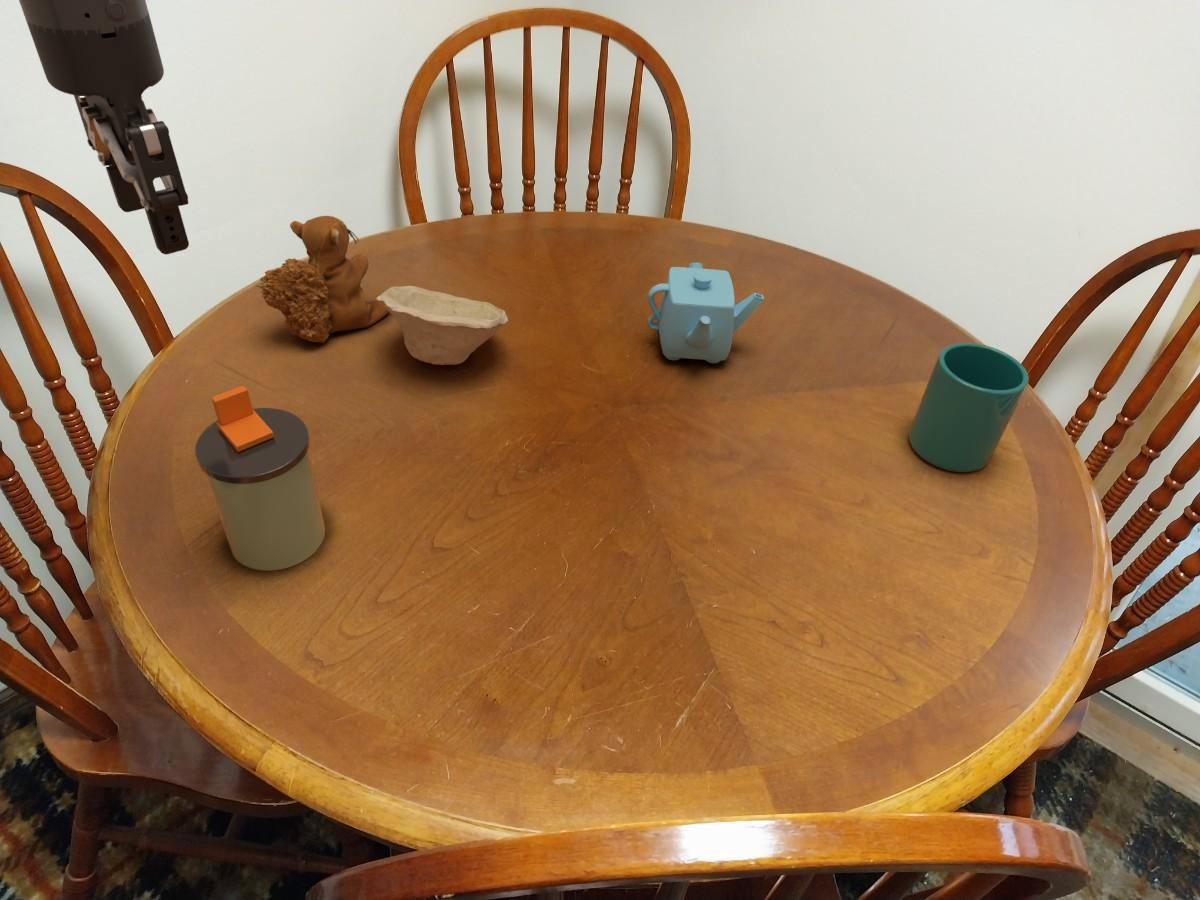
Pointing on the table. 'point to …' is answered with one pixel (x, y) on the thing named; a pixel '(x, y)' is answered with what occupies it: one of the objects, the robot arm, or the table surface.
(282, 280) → the stuffed squirrel
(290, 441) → the lidded canister
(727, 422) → the table surface
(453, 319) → the bowl
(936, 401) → the cup
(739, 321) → the teapot
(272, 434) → the slider
